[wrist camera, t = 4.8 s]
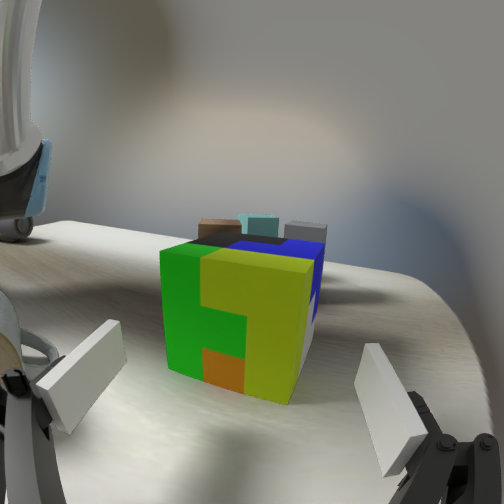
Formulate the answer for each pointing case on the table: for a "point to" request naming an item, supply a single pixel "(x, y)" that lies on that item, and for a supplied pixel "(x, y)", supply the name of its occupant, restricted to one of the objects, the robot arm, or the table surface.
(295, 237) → the grey block
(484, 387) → the table surface
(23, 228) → the bluetooth speaker
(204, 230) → the walnut block
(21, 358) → the ceramic mug
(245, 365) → the puzzle toy
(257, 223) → the teal block
